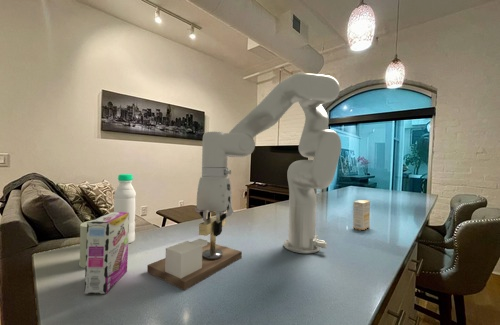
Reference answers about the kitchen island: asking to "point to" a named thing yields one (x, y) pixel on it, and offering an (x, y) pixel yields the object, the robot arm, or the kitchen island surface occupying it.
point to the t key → (211, 239)
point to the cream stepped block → (184, 258)
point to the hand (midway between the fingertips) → (213, 233)
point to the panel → (207, 270)
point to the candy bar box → (106, 252)
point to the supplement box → (361, 214)
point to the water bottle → (126, 202)
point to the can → (83, 244)
